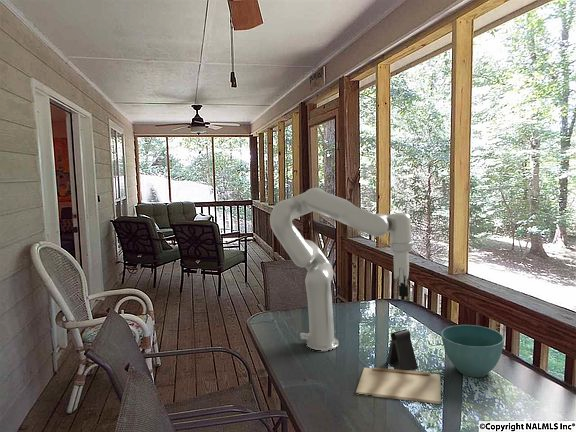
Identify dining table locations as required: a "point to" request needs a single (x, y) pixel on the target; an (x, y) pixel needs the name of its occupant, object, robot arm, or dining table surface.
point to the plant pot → (473, 348)
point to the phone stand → (402, 351)
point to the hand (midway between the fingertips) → (403, 295)
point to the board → (400, 384)
